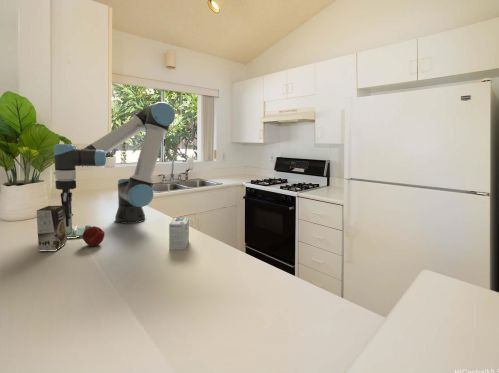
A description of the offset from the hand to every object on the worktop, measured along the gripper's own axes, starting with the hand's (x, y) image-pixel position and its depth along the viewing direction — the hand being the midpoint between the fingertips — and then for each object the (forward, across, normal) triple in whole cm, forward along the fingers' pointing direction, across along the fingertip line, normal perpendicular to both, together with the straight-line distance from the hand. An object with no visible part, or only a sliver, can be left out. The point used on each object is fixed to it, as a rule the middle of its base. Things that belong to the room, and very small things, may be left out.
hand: (67, 231), depth 124 cm
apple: (+2, +18, +10) cm, 21 cm away
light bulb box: (+2, +31, +42) cm, 52 cm away
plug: (0, 0, 0) cm, 0 cm away
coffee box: (+2, +16, -3) cm, 16 cm away
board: (+2, 0, +3) cm, 4 cm away
